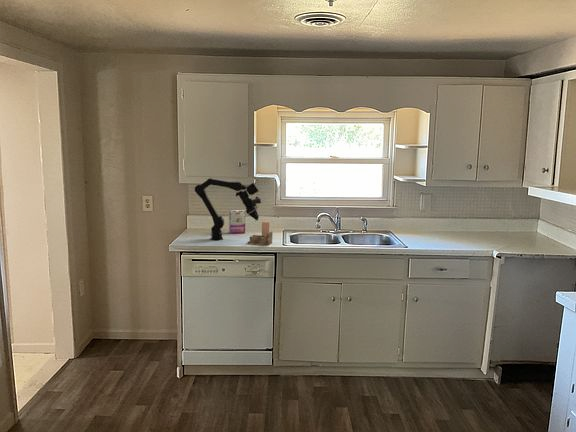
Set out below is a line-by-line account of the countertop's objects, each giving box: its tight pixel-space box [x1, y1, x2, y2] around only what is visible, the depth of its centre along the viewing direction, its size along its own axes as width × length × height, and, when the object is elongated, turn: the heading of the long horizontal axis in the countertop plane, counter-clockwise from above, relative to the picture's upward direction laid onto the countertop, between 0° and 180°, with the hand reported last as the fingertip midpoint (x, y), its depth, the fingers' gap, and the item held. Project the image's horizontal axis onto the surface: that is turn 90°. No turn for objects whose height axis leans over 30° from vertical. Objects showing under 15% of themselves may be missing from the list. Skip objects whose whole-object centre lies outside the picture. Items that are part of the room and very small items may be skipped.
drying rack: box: [247, 231, 273, 246], centre depth 308 cm, size 14×8×8 cm, turn 73°
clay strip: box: [261, 220, 271, 236], centre depth 315 cm, size 5×2×13 cm, turn 88°
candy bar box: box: [228, 209, 246, 235], centre depth 340 cm, size 11×5×16 cm, turn 112°
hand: (257, 219), depth 316 cm, fingers open, 9 cm apart
